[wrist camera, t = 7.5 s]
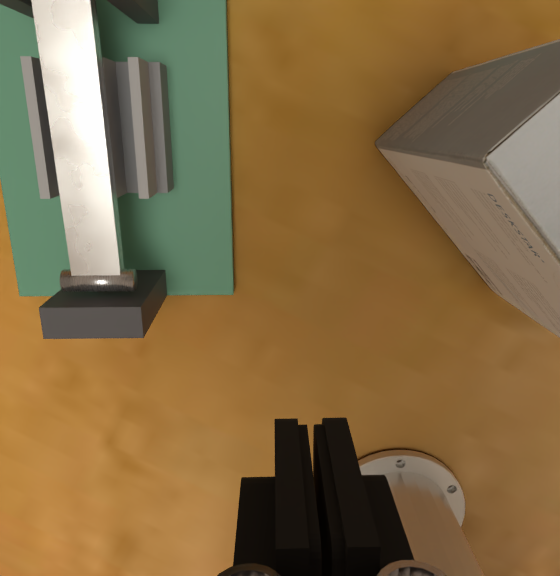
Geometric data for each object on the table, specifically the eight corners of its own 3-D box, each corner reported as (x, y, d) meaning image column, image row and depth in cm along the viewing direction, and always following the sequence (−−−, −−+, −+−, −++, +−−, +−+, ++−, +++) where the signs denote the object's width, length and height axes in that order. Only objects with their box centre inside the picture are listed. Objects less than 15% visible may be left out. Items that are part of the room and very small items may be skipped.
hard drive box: (572, 227, 39) (858, 326, 20) (491, 291, 41) (688, 440, 22) (453, 64, 36) (669, 1, 17) (368, 142, 37) (477, 165, 18)
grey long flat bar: (138, 286, 33) (133, 294, 32) (69, 287, 33) (61, 295, 32) (106, -39, 27) (98, -46, 26) (20, -40, 27) (8, -47, 25)
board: (234, 289, 40) (225, 337, 31) (26, 291, 40) (-41, 339, 31) (224, -69, 33) (210, -138, 24) (-31, -72, 32) (-141, -144, 23)
